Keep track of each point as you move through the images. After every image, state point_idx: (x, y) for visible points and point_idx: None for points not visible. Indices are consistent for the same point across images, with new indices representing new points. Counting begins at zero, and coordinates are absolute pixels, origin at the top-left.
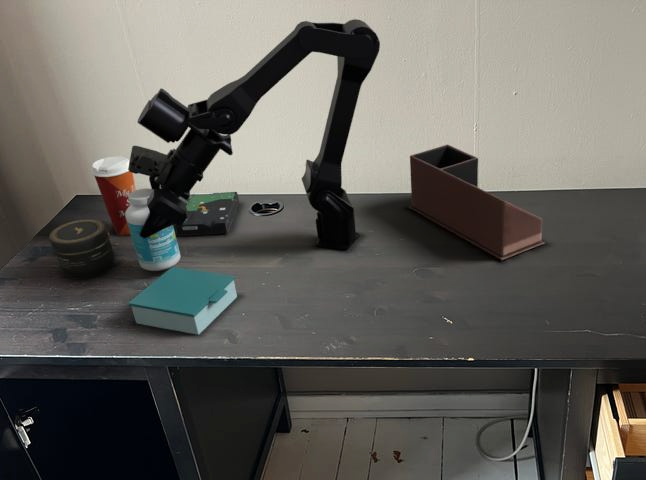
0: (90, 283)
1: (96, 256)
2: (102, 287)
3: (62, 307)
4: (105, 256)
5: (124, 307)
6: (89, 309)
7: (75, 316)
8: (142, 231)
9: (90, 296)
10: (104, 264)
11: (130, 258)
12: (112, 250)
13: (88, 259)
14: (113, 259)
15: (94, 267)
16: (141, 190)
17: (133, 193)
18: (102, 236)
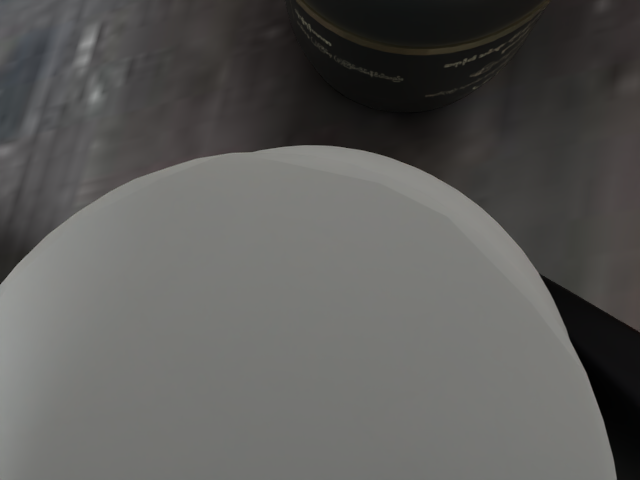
0: (267, 57)
1: (309, 33)
2: (223, 112)
3: (108, 4)
4: (348, 73)
5: (42, 232)
6: (66, 103)
7: (32, 66)
8: None
9: (162, 83)
10: (334, 82)
11: (466, 174)
12: (431, 91)
13: (287, 2)
14: (408, 108)
15: (300, 45)
16: (485, 444)
17: (322, 256)
18: (374, 12)
